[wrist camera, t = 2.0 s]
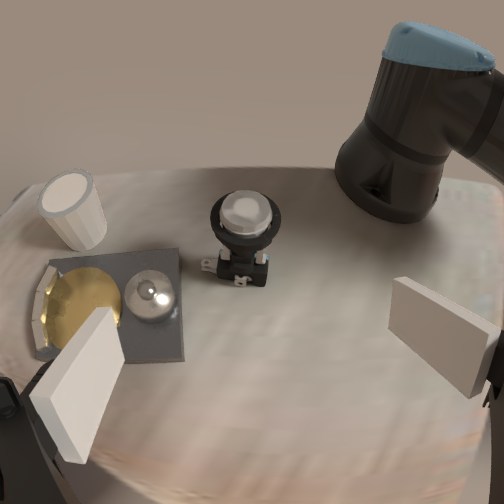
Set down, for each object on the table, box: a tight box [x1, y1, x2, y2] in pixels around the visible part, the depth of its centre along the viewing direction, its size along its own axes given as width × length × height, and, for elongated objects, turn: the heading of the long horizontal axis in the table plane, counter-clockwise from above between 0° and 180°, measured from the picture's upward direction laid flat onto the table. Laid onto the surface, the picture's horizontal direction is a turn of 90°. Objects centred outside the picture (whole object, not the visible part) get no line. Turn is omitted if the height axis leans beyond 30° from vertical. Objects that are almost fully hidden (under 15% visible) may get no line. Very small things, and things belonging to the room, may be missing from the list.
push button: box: [201, 190, 281, 287], centre depth 27 cm, size 7×5×10 cm
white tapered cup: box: [37, 169, 107, 252], centre depth 30 cm, size 7×7×7 cm
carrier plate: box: [31, 248, 185, 364], centre depth 26 cm, size 15×11×4 cm
